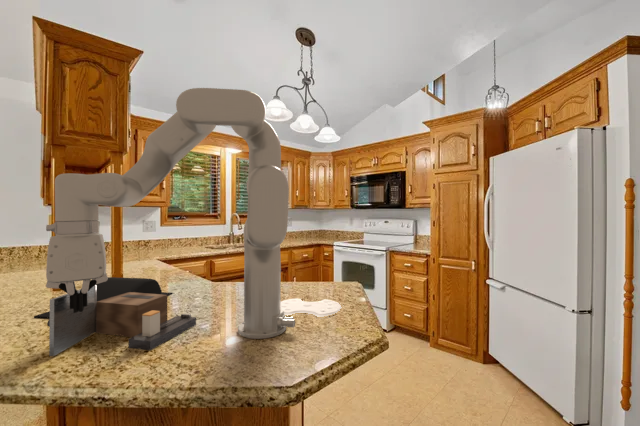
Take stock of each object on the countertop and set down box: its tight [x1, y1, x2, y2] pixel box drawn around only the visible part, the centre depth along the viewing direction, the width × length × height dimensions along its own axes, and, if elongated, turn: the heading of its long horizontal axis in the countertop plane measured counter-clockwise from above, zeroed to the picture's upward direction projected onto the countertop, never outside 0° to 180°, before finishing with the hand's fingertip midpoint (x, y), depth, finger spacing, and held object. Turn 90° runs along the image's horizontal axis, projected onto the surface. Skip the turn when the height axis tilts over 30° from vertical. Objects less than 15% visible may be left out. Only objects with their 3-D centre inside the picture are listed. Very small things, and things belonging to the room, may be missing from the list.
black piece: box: [33, 276, 174, 320], centre depth 100 cm, size 24×8×30 cm
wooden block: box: [95, 292, 168, 338], centre depth 79 cm, size 13×10×8 cm
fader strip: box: [127, 313, 197, 351], centre depth 75 cm, size 6×16×3 cm, turn 167°
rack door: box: [46, 285, 97, 357], centre depth 69 cm, size 13×2×12 cm, turn 4°
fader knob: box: [142, 310, 160, 337], centre depth 70 cm, size 2×3×5 cm
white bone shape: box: [281, 297, 342, 317], centre depth 97 cm, size 20×2×25 cm
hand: (78, 310), depth 66 cm, fingers closed
